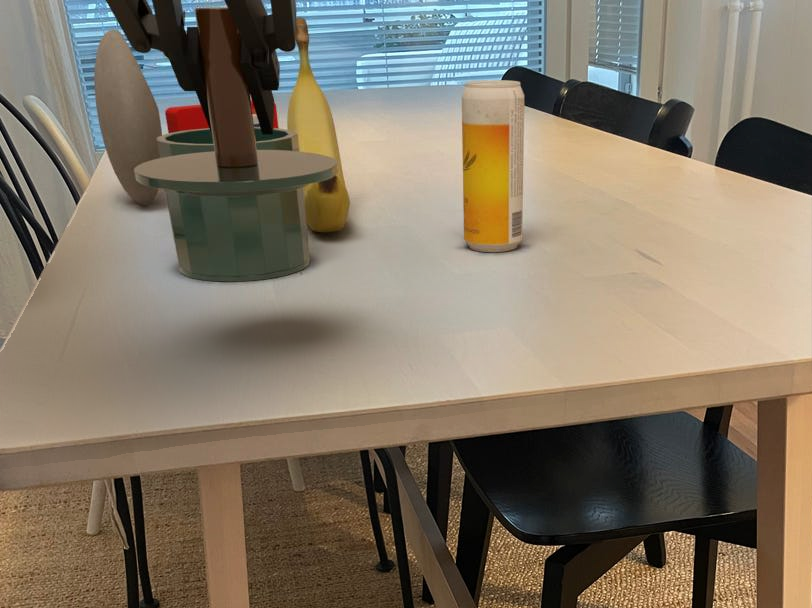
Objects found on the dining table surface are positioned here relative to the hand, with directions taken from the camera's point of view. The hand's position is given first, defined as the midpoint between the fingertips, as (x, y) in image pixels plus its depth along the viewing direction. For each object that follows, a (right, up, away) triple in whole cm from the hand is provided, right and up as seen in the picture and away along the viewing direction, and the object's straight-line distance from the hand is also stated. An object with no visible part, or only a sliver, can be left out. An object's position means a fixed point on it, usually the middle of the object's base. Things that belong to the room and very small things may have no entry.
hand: (243, 117), depth 69 cm
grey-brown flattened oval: (-26, +19, +56) cm, 65 cm away
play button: (-17, +25, +66) cm, 72 cm away
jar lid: (0, -5, -1) cm, 5 cm away
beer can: (+18, +4, +34) cm, 39 cm away
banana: (-1, +11, +44) cm, 45 cm away
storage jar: (-7, 0, +28) cm, 29 cm away
